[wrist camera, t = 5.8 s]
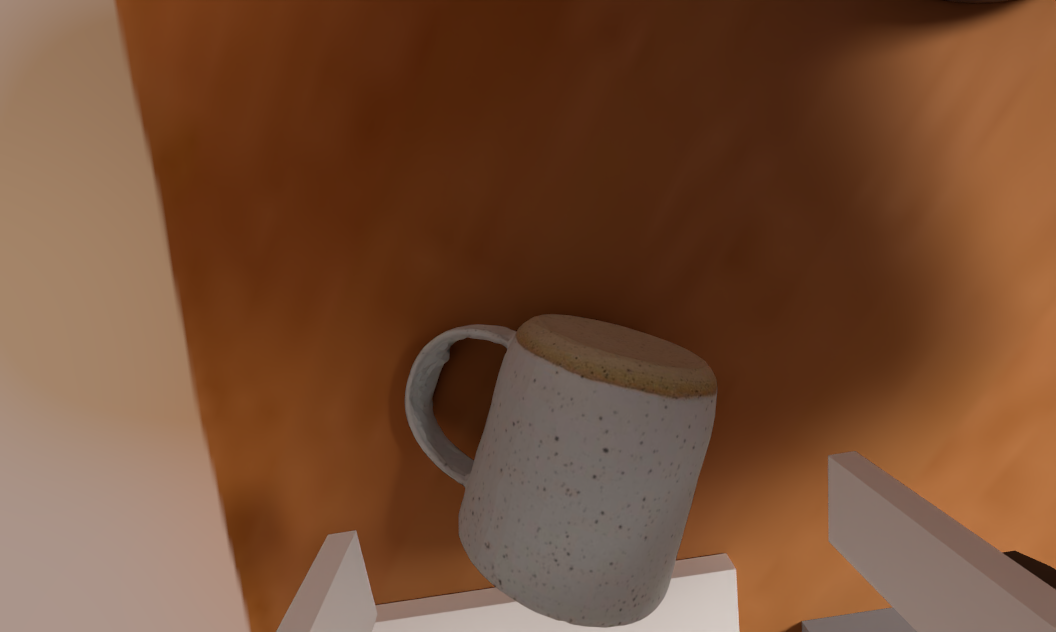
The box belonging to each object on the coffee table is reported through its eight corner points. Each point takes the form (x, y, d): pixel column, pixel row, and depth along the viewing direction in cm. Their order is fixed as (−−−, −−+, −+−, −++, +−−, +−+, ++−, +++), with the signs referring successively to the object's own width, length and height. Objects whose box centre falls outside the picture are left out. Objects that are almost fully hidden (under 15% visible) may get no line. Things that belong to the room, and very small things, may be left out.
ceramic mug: (687, 329, 20) (786, 404, 13) (635, 503, 22) (695, 659, 14) (432, 275, 19) (376, 319, 12) (399, 459, 21) (333, 598, 14)
